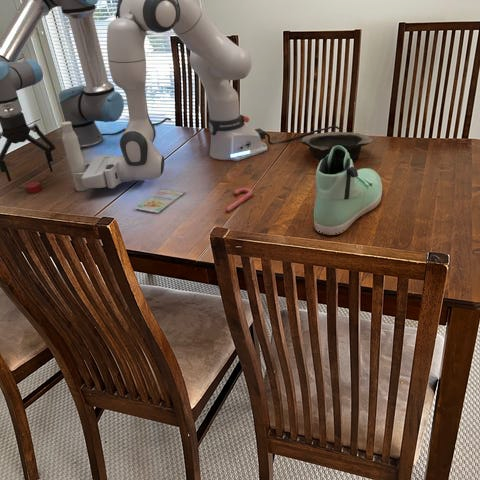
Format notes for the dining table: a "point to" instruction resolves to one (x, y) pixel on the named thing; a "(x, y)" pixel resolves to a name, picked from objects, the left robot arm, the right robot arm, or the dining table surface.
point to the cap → (33, 187)
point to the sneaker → (343, 192)
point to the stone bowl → (336, 143)
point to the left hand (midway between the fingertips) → (30, 175)
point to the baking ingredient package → (159, 200)
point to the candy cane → (236, 192)
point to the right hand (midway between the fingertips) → (75, 171)
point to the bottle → (73, 153)
